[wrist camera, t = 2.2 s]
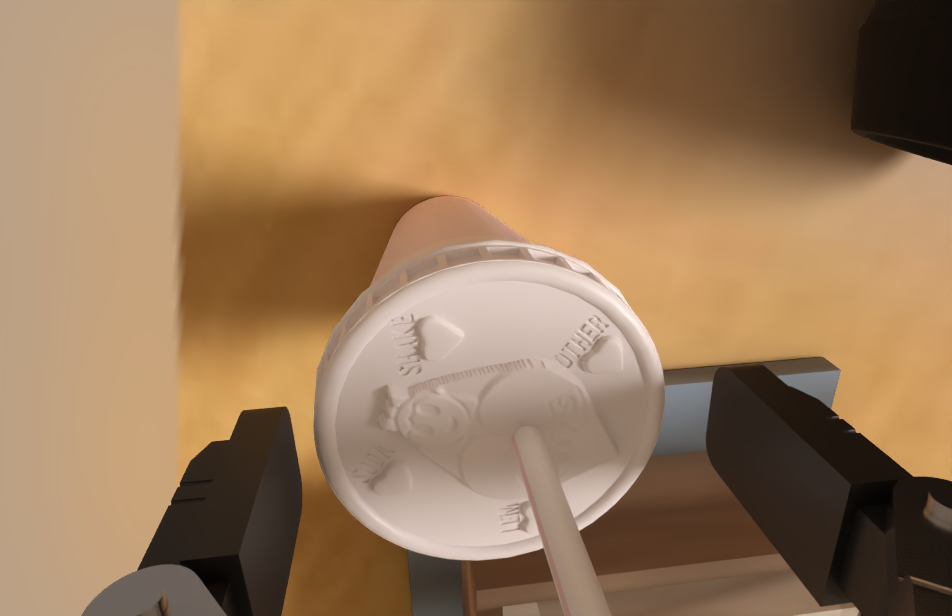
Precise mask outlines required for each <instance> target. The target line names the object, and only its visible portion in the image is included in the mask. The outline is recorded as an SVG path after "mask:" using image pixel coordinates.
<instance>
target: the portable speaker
mask: <svg viewBox="0 0 952 616" xmlns="http://www.w3.org/2000/svg"><path fill="white" fill-rule="evenodd" d="M851 130H852V131H853V132H854V133H856V134H858V135H860V136H863V137H865V138H868V139H871V140H873V141H876V142H879V143H882V144H885V145H888V146H891V147H893V148H897V149H900V150H903V151H906V152H910V153H913V154H916V155H920V156H923V157H926V158H930V159H933V160H936V161H940V162H943V163H947V164H950V165H952V0H877V1H876V3H875V5H874V7H873V10H872V13H871V14H870V16H869V18H868V19H867V21H866V22H865V24H864V25H863V26H862V27H861V28H860V31H859V41H858V52H857V63H856V74H855V85H854V96H853V107H852V118H851Z"/></svg>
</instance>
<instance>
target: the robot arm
mask: <svg viewBox="0 0 952 616" xmlns="http://www.w3.org/2000/svg"><path fill="white" fill-rule="evenodd" d="M706 448H707V453H708V457H709V460H710V462H711V464H712V466H713V468H714V469H715V471H716V472H717V473H718V475H719V476H720V477H721V479H722V480H723V481H724V482H725V484H726V485H727V486H728V488H729V489H730V490H731V492H732V493H733V494H734V495H735V497H736V498H737V499H738V501H739V502H740V503H741V504H742V506H743V507H744V508H745V510H746V511H747V512H748V514H749V515H750V516H751V517H752V519H753V520H754V521H755V523H756V524H757V525H758V526H759V528H760V529H761V530H762V532H763V533H764V534H765V536H766V537H767V538H768V539H769V541H770V542H771V543H772V545H773V546H774V547H775V549H776V550H777V551H778V552H779V554H780V555H781V556H782V558H783V559H784V560H785V561H786V563H787V564H788V565H789V567H790V568H791V569H792V571H793V572H794V573H795V574H796V576H797V577H798V578H799V580H800V581H801V582H802V583H803V585H804V586H805V587H806V589H807V590H808V591H809V593H810V594H811V595H812V596H813V598H814V599H815V600H816V602H817V603H818V604H819V606H820V607H824V606H831V605H838V604H845V603H853V604H854V605H855V607H856V608H857V609H858V610H859V612H858V615H857V616H952V481H948V480H944V479H939V478H933V477H913V476H912V475H911V474H910V473H908V472H907V471H906V470H905V469H903V468H902V467H901V466H900V465H899V464H897V463H896V462H895V461H894V460H892V459H891V458H890V457H889V456H888V455H886V454H885V453H884V452H883V451H881V450H880V449H879V448H878V447H876V446H875V445H874V444H873V443H872V442H870V441H869V440H868V439H867V438H865V437H864V436H863V435H862V434H861V433H856V431H855V429H854V428H853V427H852V426H851V425H850V424H848V423H847V422H846V421H845V420H843V419H839V416H838V415H837V414H836V413H835V412H834V411H832V410H831V409H830V408H829V407H827V406H826V405H825V404H824V403H823V402H821V401H820V400H819V399H817V398H815V397H813V396H811V395H809V394H806V393H804V392H802V391H800V390H798V389H796V388H794V387H792V386H788V385H787V384H785V383H784V382H783V381H782V380H781V379H779V378H778V377H777V376H776V375H775V374H774V373H772V372H771V371H770V370H769V369H768V368H766V367H765V366H764V365H762V364H758V363H757V364H746V365H736V366H725V367H720V368H718V369H717V371H716V372H715V375H714V378H713V385H712V393H711V400H710V408H709V415H708V423H707V430H706ZM301 511H302V482H301V475H300V469H299V463H298V458H297V452H296V446H295V441H294V435H293V429H292V424H291V418H290V414H289V411H288V409H287V407H275V408H264V409H253V410H244V411H242V412H241V414H240V416H239V418H238V421H237V423H236V426H235V428H234V430H233V433H232V435H231V438H230V440H224V441H214V442H211V443H210V444H209V445H208V446H207V447H206V448H204V449H203V450H202V451H201V452H200V453H199V454H198V455H197V456H196V457H195V458H193V459H192V460H191V461H190V463H189V465H188V467H187V469H186V471H185V473H184V475H183V477H182V480H181V482H180V487H178V488H177V490H176V492H175V494H174V496H173V498H172V500H171V505H170V506H168V508H167V510H166V512H165V514H164V516H163V518H162V520H161V523H160V525H159V527H158V529H157V531H156V533H155V535H154V537H153V539H152V541H151V543H150V545H149V547H148V549H147V551H146V553H145V555H144V557H143V559H142V562H141V564H140V566H139V568H138V570H137V571H135V572H133V573H131V574H129V575H126V576H124V577H122V578H121V579H119V580H117V581H116V582H114V583H113V584H111V585H110V586H108V587H107V588H106V589H104V590H103V591H102V592H101V593H100V594H98V596H96V597H95V598H94V600H93V601H92V602H91V603H90V604H89V605H88V606H87V608H86V609H85V611H84V612H83V614H82V616H281V615H282V610H283V604H284V599H285V594H286V589H287V584H288V579H289V574H290V568H291V563H292V558H293V553H294V548H295V543H296V538H297V532H298V527H299V522H300V517H301Z"/></svg>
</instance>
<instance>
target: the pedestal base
mask: <svg viewBox="0 0 952 616" xmlns="http://www.w3.org/2000/svg"><path fill="white" fill-rule="evenodd" d="M748 364H757V363H748ZM758 364H762V365H764V366H765V367H766V368H768V369H769V370H770V371H771V372H772V373H774V374H775V375H776V376H777V377H778V378H779V379H781V380H782V381H783V382H784V383H785V384H787V385H788V386H792V387H794V388H796V389H798V390H800V391H802V392H804V393H806V394H809V395H811V396H813V397H815V398H817V399H819V400H820V401H821V402H823V403H824V404H825V405H826V406H827V407H829V408H830V409H831V407H832V403H833V399H834V395H835V391H836V387H837V383H838V379H839V375H840V371H841V370H840V369H839V368H837V367H836V366H834V365H833V364H832V363H830V362H829V361H828V360H826V359H825V358H824V357H818V358H806V359H795V360H783V361H771V362H760V363H758ZM736 365H746V364H736ZM736 365H725V366H736ZM725 366H713V367H701V368H690V369H678V370H666V371H663V375H664V382H665V407H664V416H663V421H662V426H661V430H660V433H659V436H658V439H657V442H656V445H655V447H654V449H653V452H652V454H651V456H650V458H649V460H648V462H647V464H646V465H645V467H644V469H643V470H642V472H641V473H640V475H639V476H638V478H637V479H636V481H635V482H634V483H633V485H632V486H631V487H630V488H629V490H628V491H627V492H626V493H625V494H624V495H623V496H622V497H621V498H620V499H619V500H618V502H617V503H616V504H615V505H613V506H612V507H611V508H610V509H609V510H608V511H607V512H605V513H604V514H603V515H602V516H600V517H599V518H598V519H596V520H595V521H594V522H593V523H591V524H590V525H588V526H586V527H585V528H583V529H582V530H580V531H579V532H580V535H581V537H582V540H583V542H584V545H585V547H586V550H587V553H588V555H589V558H590V560H591V563H592V565H593V568H594V571H595V573H596V576H597V578H598V581H599V584H600V586H601V589H602V591H603V594H604V596H605V599H606V602H607V604H608V607H609V609H610V612H611V614H612V616H857V615H858V612H859V610H858V609H857V608H856V607H855V605H854V604H853V603H845V604H838V605H831V606H824V607H820V606H819V604H818V603H817V602H816V600H815V599H814V598H813V596H812V595H811V594H810V593H809V591H808V590H807V589H806V587H805V586H804V585H803V583H802V582H801V581H800V580H799V578H798V577H797V576H796V574H795V573H794V572H793V571H792V569H791V568H790V567H789V565H788V564H787V563H786V561H785V560H784V559H783V558H782V556H781V555H780V554H779V552H778V551H777V550H776V549H775V547H774V546H773V545H772V543H771V542H770V541H769V539H768V538H767V537H766V536H765V534H764V533H763V532H762V530H761V529H760V528H759V526H758V525H757V524H756V523H755V521H754V520H753V519H752V517H751V516H750V515H749V514H748V512H747V511H746V510H745V508H744V507H743V506H742V504H741V503H740V502H739V501H738V499H737V498H736V497H735V495H734V494H733V493H732V492H731V490H730V489H729V488H728V486H727V485H726V484H725V482H724V481H723V480H722V479H721V477H720V476H719V475H718V473H717V472H716V471H715V469H714V468H713V466H712V464H711V462H710V460H709V457H708V453H707V448H706V430H707V423H708V415H709V408H710V400H711V393H712V385H713V378H714V375H715V372H716V371H717V369H718V368H720V367H725ZM407 554H408V566H409V578H410V589H411V601H412V613H413V616H564V613H563V610H562V606H561V603H560V600H559V597H558V593H557V590H556V587H555V584H554V580H553V577H552V574H551V570H550V567H549V564H548V561H547V557H546V554H545V551H544V548H542V549H539V550H536V551H532V552H528V553H525V554H521V555H516V556H512V557H508V558H499V559H490V560H479V561H476V560H455V559H445V558H439V557H434V556H429V555H425V554H421V553H417V552H414V551H411V550H409V549H407Z"/></svg>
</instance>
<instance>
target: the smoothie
mask: <svg viewBox="0 0 952 616" xmlns="http://www.w3.org/2000/svg"><path fill="white" fill-rule="evenodd" d="M664 407H665V382H664V375H663V369H662V365H661V361H660V357H659V355H658V352H657V350H656V347H655V344H654V342H653V340H652V338H651V337H650V335H649V333H648V331H647V329H646V328H645V326H644V325H643V324H642V322H641V321H640V319H639V318H638V317H637V316H636V314H635V313H634V312H633V310H632V309H631V307H630V306H629V304H628V303H627V301H626V300H625V298H624V297H623V295H622V294H621V292H620V291H619V289H618V288H617V287H615V286H614V285H613V284H612V283H610V282H609V281H608V280H607V279H605V278H604V277H603V276H602V275H601V274H599V273H598V272H597V271H596V270H594V269H593V268H592V267H591V266H589V265H588V264H587V263H586V262H584V261H581V260H579V259H576V258H574V257H571V256H569V255H567V254H564V253H562V252H559V251H557V250H555V249H552V248H550V247H547V246H545V245H540V244H532V243H530V242H529V241H528V240H526V239H525V238H524V237H522V236H521V235H519V234H518V233H517V232H515V231H514V230H513V229H511V228H510V227H509V226H507V225H506V224H505V223H503V222H502V221H500V220H499V219H498V218H496V217H495V216H494V215H492V214H491V213H490V212H488V211H487V210H486V209H484V208H483V207H481V206H480V205H478V204H477V203H475V202H473V201H470V200H468V199H465V198H461V197H455V196H440V197H434V198H431V199H428V200H425V201H423V202H421V203H419V204H417V205H415V206H414V207H412V208H411V209H410V210H408V211H407V212H406V213H405V214H404V215H403V216H402V218H401V219H400V220H399V222H398V223H397V225H396V226H395V228H394V230H393V233H392V235H391V237H390V240H389V242H388V244H387V247H386V249H385V252H384V254H383V256H382V259H381V261H380V264H379V266H378V268H377V271H376V273H375V275H374V278H373V280H372V283H371V285H370V287H369V288H368V289H366V290H365V291H363V292H362V293H361V294H360V296H359V297H358V298H357V300H356V301H355V302H354V303H353V305H352V306H351V307H350V308H349V310H348V311H347V312H346V313H345V315H344V316H343V317H342V318H341V320H340V321H339V322H338V324H337V325H336V326H335V327H334V329H333V331H332V333H331V336H330V338H329V341H328V343H327V346H326V348H325V351H324V353H323V356H322V358H321V361H320V363H319V366H318V368H317V378H316V390H315V403H314V440H315V445H316V451H317V456H318V459H319V462H320V465H321V469H322V471H323V473H324V475H325V478H326V480H327V482H328V484H329V485H330V487H331V489H332V490H333V492H334V494H335V495H336V497H337V498H338V499H339V500H340V502H341V503H342V504H343V506H344V507H345V508H346V509H347V510H348V511H349V512H350V513H351V514H352V515H353V516H354V517H355V518H356V519H357V520H358V521H359V522H361V523H362V524H363V525H364V526H365V527H367V528H368V529H370V530H371V531H373V532H374V533H375V534H377V535H379V536H381V537H382V538H384V539H386V540H388V541H389V542H392V543H394V544H396V545H398V546H401V547H403V548H406V549H409V550H411V551H414V552H417V553H421V554H425V555H429V556H434V557H439V558H445V559H455V560H476V561H479V560H490V559H499V558H508V557H512V556H516V555H521V554H525V553H528V552H532V551H536V550H539V549H542V548H544V551H545V554H546V557H547V561H548V564H549V567H550V570H551V574H552V577H553V580H554V584H555V587H556V590H557V593H558V597H559V600H560V603H561V606H562V610H563V613H564V616H612V614H611V612H610V609H609V607H608V604H607V602H606V599H605V596H604V594H603V591H602V589H601V586H600V584H599V581H598V578H597V576H596V573H595V571H594V568H593V565H592V563H591V560H590V558H589V555H588V553H587V550H586V547H585V545H584V542H583V540H582V537H581V535H580V532H579V531H580V530H582V529H583V528H585V527H586V526H588V525H590V524H591V523H593V522H594V521H595V520H596V519H598V518H599V517H600V516H602V515H603V514H604V513H605V512H607V511H608V510H609V509H610V508H611V507H612V506H613V505H615V504H616V503H617V502H618V500H619V499H620V498H621V497H622V496H623V495H624V494H625V493H626V492H627V491H628V490H629V488H630V487H631V486H632V485H633V483H634V482H635V481H636V479H637V478H638V476H639V475H640V473H641V472H642V470H643V469H644V467H645V465H646V464H647V462H648V460H649V458H650V456H651V454H652V452H653V449H654V447H655V445H656V442H657V439H658V436H659V433H660V430H661V426H662V421H663V416H664Z"/></svg>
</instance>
